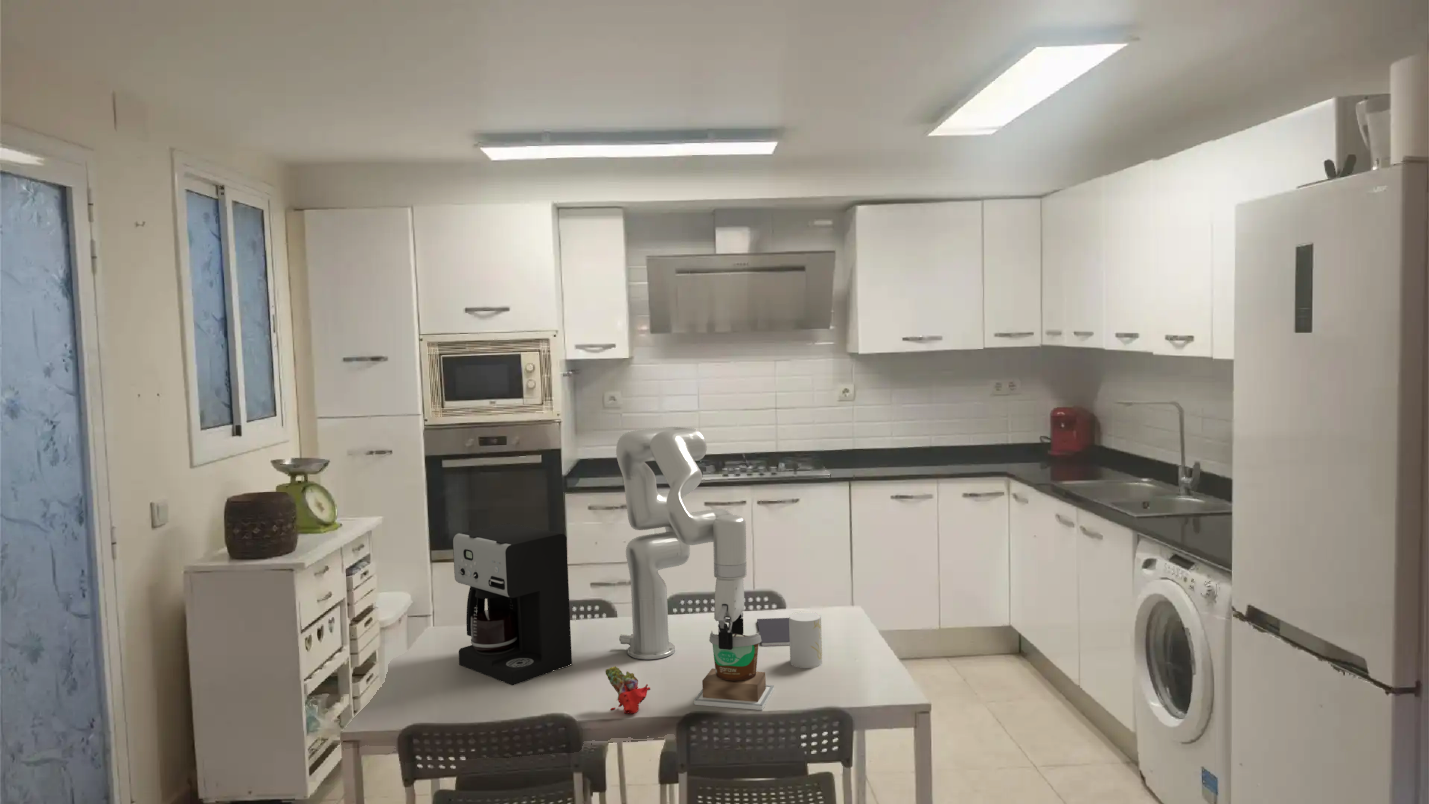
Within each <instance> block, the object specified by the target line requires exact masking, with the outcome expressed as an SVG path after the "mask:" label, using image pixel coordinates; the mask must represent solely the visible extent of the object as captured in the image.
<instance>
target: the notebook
mask: <svg viewBox="0 0 1429 804" xmlns="http://www.w3.org/2000/svg"><path fill="white" fill-rule="evenodd" d="M756 622H757V623H756V624H757V628H758V633H759V635H760V636H761V640H762V641H761V642H760V645H761V647H769V646H770V647H771V646H790V634H789V617H775V618H757V619H756Z"/></svg>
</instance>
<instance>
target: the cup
mask: <svg viewBox="0 0 1429 804" xmlns="http://www.w3.org/2000/svg"><path fill="white" fill-rule="evenodd" d="M788 618H789V634H790V645H789V663H790V665H791V666H793V667H795V668H799V669H800V668H801V669H811V668H817V667H820V666H822V664H823V641H822V640H823V638H822V637H823V636H822V615H821V614H819V613H818V612H814V611H798V612H793V613H791V614H789V615H788Z"/></svg>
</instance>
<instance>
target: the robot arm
mask: <svg viewBox="0 0 1429 804" xmlns="http://www.w3.org/2000/svg"><path fill="white" fill-rule="evenodd" d="M707 447H708V446H707V441H706V439H705V437H704V435H703V434H702V433H701V432H700V430H698V429H696V428H692V427H680V426H679V427H678V426H668V427H657V428H643V429H635V430H630V431H628V432H625V433H623V434H622V435H620V437H619V438H618V440H617V442H616V448H615V449H616V450H615V451H616V452H615V453H616V454H615V455H616V460H617V462H618V463H617V464H618V467H619V469H620V472H621V475H622V478H623V483H624V485H623V486H624V494H625V502H626V503H625V504H626V513H627V514H626V515H627V519H628V523H629V525H630V527H631V528H632V529H633V530H635V531H647V530H653V529H660V528H664V530H665V531H664V532H658V533H650V534H644V535H639V536H636V537H635V538H632V539H631V540H629V542H627V545H626V548H625V557H626V563H627V567H628V572H629V580H630V593H631V594H630V597H631V615H632V616H631V619H632V634H630V635H628V634H620V635H619V636H618V637H619V642H620V645H628V646H629V647H628V648H627V654H628V655H629V656H630V657H632V658H634V659H638V660H657V659H664V658H666V657H669V656H671V655H673V654H674V653H675V652H676V649H675V648H676V647H675V645H674V643H672V642H670V637H669V616H668V615H669V614H668V613H669V612H668V609H669V608H668V588H667V585H666V582H665V580H664V579H663V578H662V577H661V575H660V573H659V572H658V571H659V570H664V569H668V568H670V569H671V568H674V567H679V566H682V565H685V564H686V563H687V562H688V560H689V558H690V553H691V546H695V545H703V544H708V543H713V578H715V579H716V580H715V587H714V611H713V613H714V616H713V617H714V618H713V619H714V620H715V621H716V622H718V623H717V624H718V625H717V627H718V629H717V632H718V634H717V635H718V638H719V649H727V650H732V648H733V634H741V635H744V618H743V617H744V610H745V586H744V585H745V583H744V581H745V580H744V578H746V577H747V576H748V575H747V570H748V569H747V523H746V520H745V518H744V517H742V516H740V515H738V514H736V515H735V514H733V513H732V512H730V511H729V510H728V509H726V508H714V509H708V510H707V509H706V510H701V511H693V512H692V511H691V512H688V510H687V507H686V504H685V501H684V500H683V498H684V497H686V496H687V495H689V494H691V493H692V492H693V491H695V489H696V488H697V487H698V486H699V485H700V484H701V482H702V479H703V473H702V470H701V469H700V467H699V466H698V464H697V463H696V461H700V460H702V459H704V457H705V455H706V453H707V449H708V448H707ZM653 461H654V462H656V465H657V466H658V468H659V470H660V471H661V473H662V474H663V475H662V476H663V477H664V479H665V481H666V482H667V484H668V486H669V488H670V489H669V490H666V491H665V490H664V491H659V492H658V488H657V479H656V475H655V472H654V471H653V469H652V468H651V467H650V466H649V465H648V463H646V462H653ZM727 623H728V624H727Z"/></svg>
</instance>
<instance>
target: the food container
mask: <svg viewBox="0 0 1429 804" xmlns="http://www.w3.org/2000/svg"><path fill="white" fill-rule="evenodd" d="M708 641H709V643H710V644H712V651H713V661H714V669H715V671H716V676H717V677H719V678H721V679H724V680H746V679H750V678H753V677H754V676H756V672H757V666H758V657H759V656H758V654H759V644H761V641H762V640H761V636H760V635H759V632H757V633H755V634H752V635H745V634H743V635H741V634H733V648H732V650H727V649H719V638H718V634H715V633H713V630H711V632H710V635H709V639H708Z"/></svg>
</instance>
